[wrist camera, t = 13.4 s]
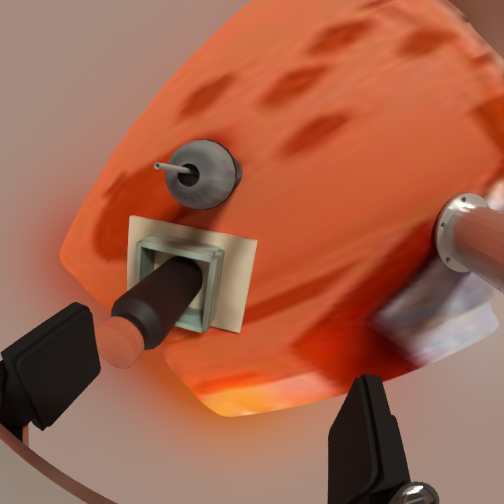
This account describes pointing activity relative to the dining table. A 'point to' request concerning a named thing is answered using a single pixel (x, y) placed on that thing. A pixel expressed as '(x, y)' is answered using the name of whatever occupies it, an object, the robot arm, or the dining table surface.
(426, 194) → the dining table surface
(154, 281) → the vinegar
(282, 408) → the dining table surface
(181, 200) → the beverage cup
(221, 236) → the bottle caddy
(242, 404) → the dining table surface
